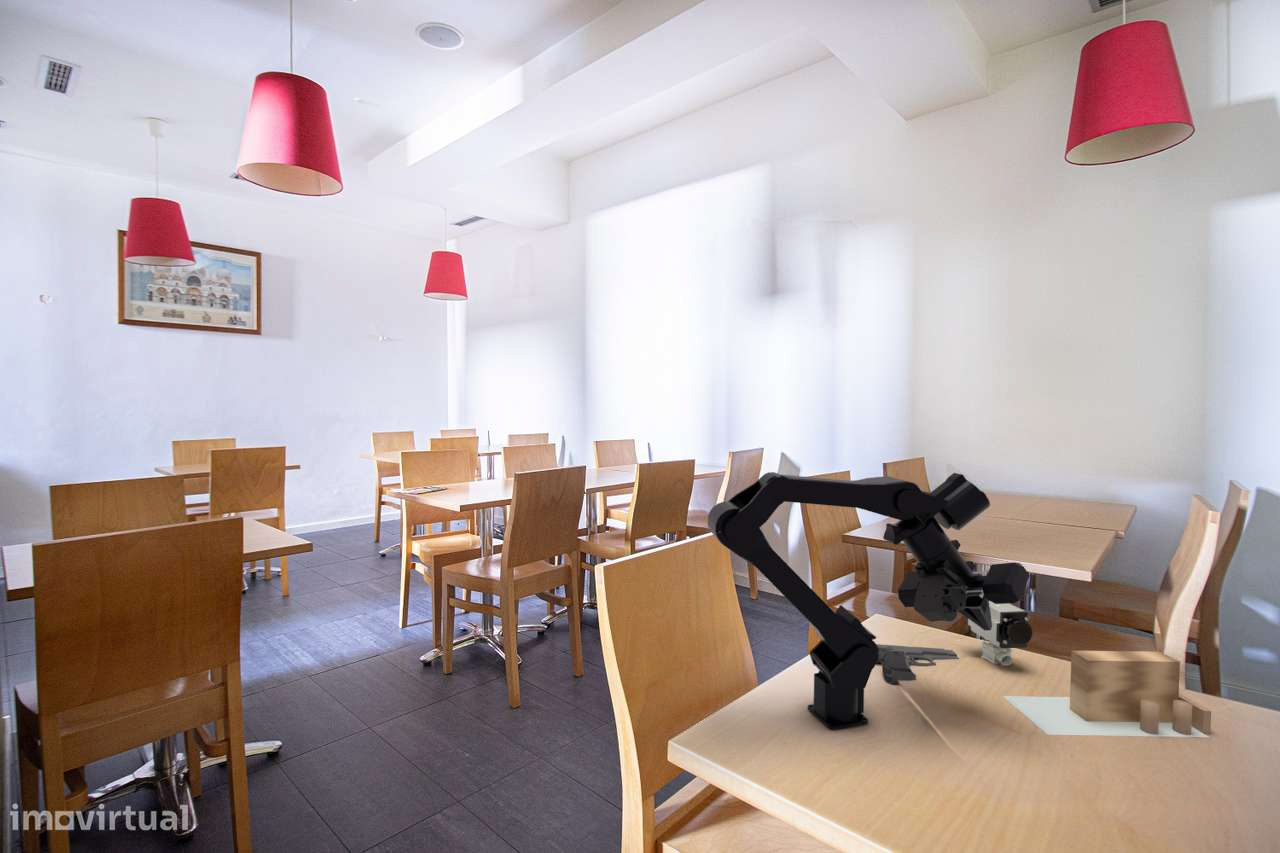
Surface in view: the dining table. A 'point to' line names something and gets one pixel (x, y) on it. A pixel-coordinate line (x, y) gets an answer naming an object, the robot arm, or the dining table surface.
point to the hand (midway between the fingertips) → (988, 628)
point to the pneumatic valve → (1003, 632)
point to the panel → (1063, 721)
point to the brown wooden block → (1122, 684)
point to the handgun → (908, 660)
